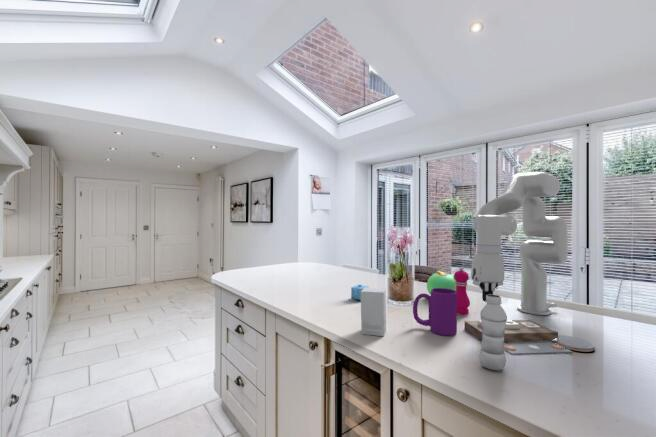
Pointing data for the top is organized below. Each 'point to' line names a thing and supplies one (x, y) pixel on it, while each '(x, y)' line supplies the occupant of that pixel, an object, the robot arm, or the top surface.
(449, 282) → the toy bird
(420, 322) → the mug
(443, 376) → the top surface
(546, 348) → the pattern card
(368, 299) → the skincare box
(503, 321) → the plastic bottle
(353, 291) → the teapot
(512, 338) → the button board
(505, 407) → the top surface
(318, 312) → the top surface
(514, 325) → the middle button
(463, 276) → the pepper mill
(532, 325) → the button
